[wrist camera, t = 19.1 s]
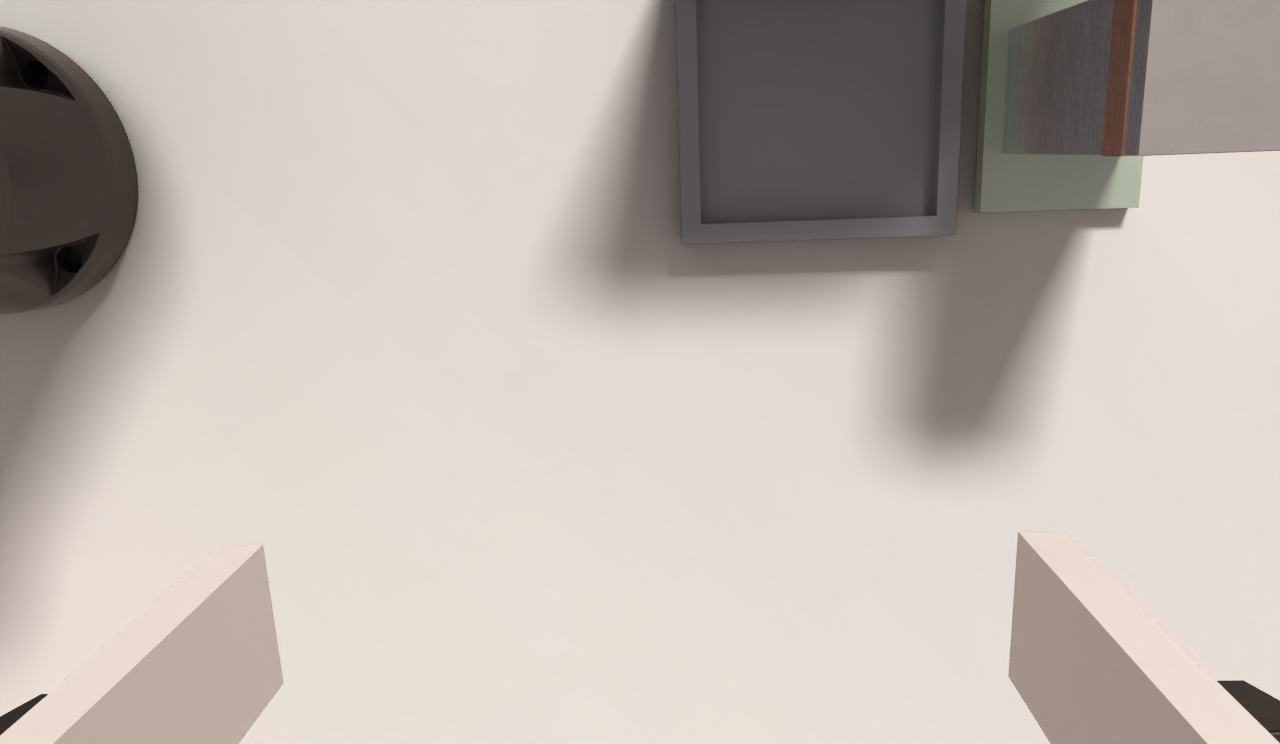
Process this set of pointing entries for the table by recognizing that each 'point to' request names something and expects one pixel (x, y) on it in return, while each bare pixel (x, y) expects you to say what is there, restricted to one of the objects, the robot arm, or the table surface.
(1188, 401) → the table surface
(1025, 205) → the sage board
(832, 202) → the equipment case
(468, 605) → the table surface
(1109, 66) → the block
